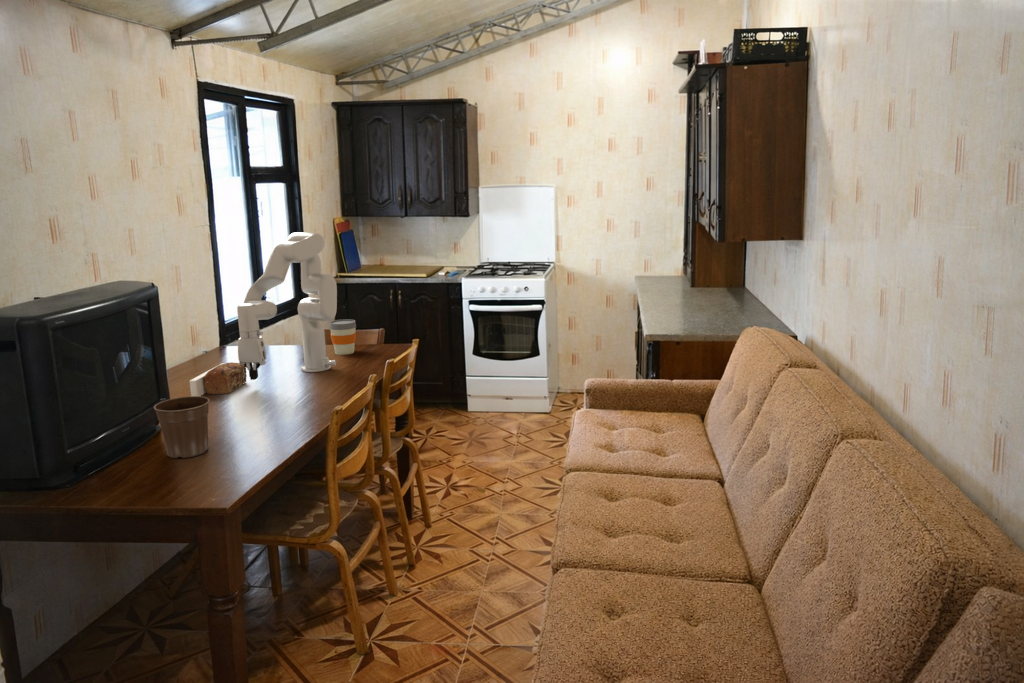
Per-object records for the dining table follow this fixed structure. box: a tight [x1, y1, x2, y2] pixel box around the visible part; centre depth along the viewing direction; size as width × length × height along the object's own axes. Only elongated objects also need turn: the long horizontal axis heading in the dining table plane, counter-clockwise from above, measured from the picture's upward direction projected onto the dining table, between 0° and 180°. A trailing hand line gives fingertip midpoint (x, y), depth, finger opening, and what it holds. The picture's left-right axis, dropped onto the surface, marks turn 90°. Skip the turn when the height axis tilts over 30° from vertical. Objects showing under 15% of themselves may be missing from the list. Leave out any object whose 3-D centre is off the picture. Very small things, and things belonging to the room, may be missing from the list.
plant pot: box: [153, 395, 211, 459], centre depth 253 cm, size 16×16×16 cm
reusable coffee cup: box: [329, 318, 357, 356], centre depth 386 cm, size 13×13×15 cm
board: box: [189, 362, 226, 397], centre depth 329 cm, size 2×28×7 cm, turn 174°
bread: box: [204, 362, 248, 395], centre depth 328 cm, size 19×11×10 cm, turn 174°
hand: (254, 378), depth 327 cm, fingers closed
